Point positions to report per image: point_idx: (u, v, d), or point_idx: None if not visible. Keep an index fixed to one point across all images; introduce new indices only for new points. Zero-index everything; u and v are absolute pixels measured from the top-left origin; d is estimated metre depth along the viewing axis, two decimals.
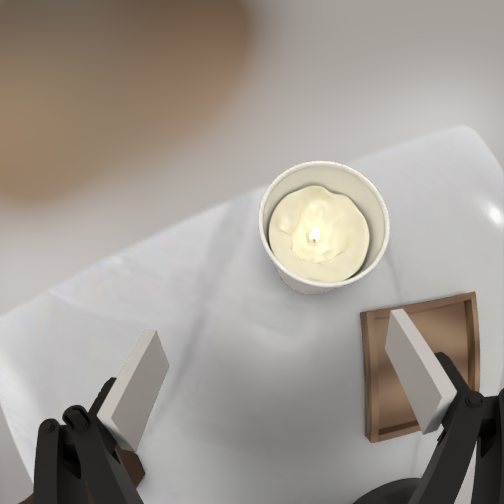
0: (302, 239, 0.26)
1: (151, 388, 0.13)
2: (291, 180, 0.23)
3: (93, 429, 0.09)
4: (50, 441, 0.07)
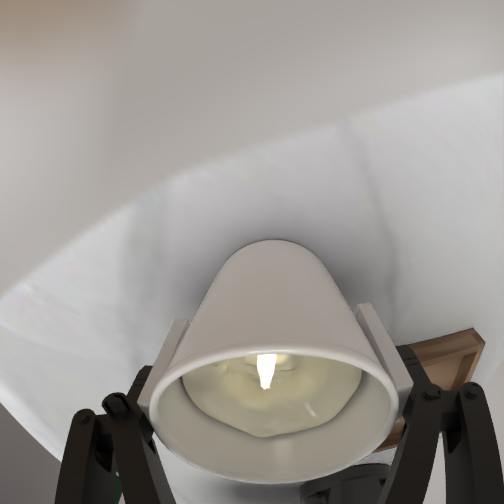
0: None
1: None
2: None
3: (133, 418, 0.09)
4: (83, 432, 0.08)
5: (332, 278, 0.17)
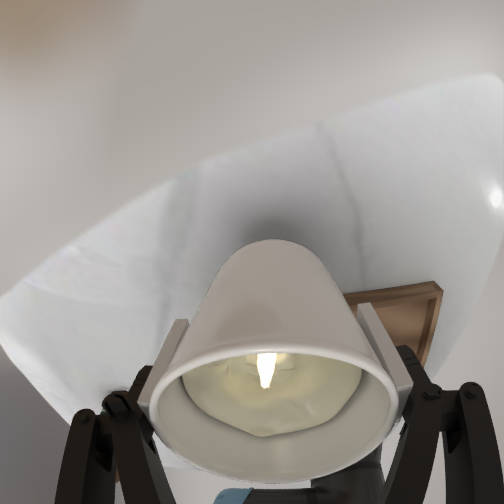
0: None
1: None
2: None
3: (133, 418, 0.09)
4: (84, 432, 0.08)
5: (332, 278, 0.17)
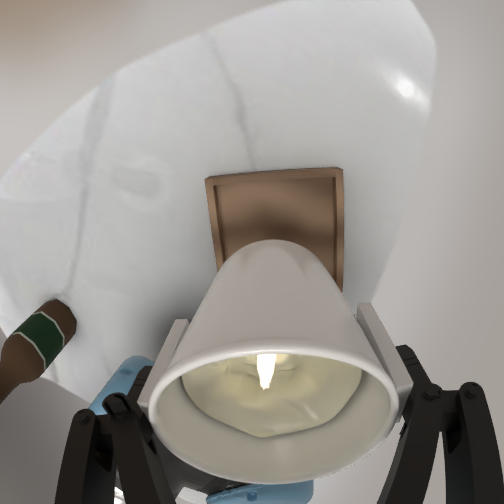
0: None
1: None
2: None
3: (133, 418, 0.09)
4: (83, 432, 0.08)
5: (332, 278, 0.16)
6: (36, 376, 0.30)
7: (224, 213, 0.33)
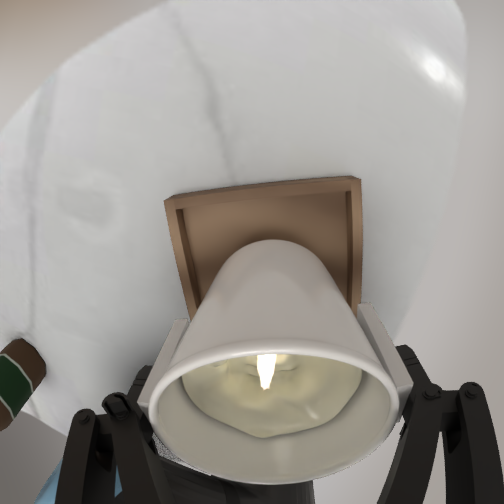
0: None
1: None
2: None
3: (133, 418, 0.09)
4: (83, 432, 0.08)
5: (332, 278, 0.16)
6: (4, 426, 0.21)
7: (195, 245, 0.24)
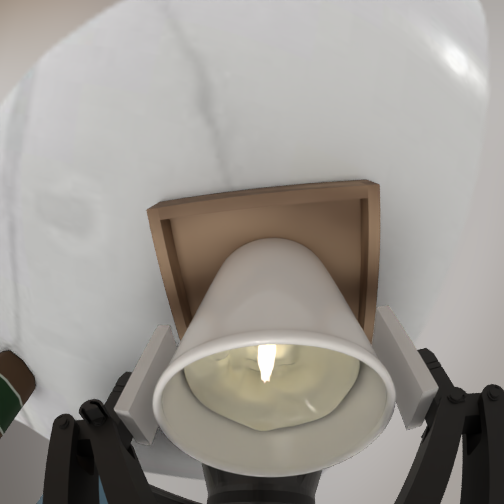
0: (246, 348, 0.15)
1: None
2: None
3: (110, 424, 0.09)
4: (64, 437, 0.08)
5: (330, 275, 0.17)
6: None
7: (185, 260, 0.20)
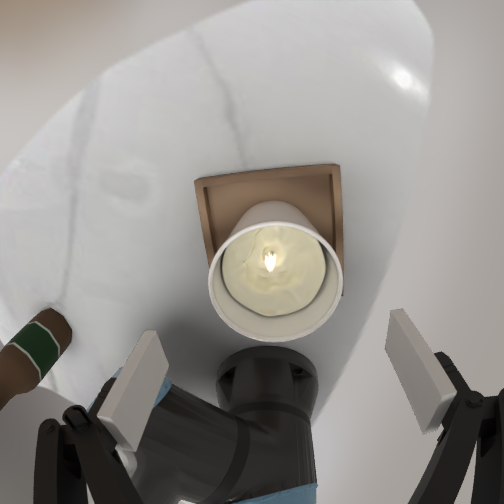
0: (258, 259, 0.26)
1: (151, 388, 0.13)
2: None
3: (93, 429, 0.09)
4: (50, 441, 0.07)
5: None
6: (32, 387, 0.29)
7: (216, 216, 0.31)
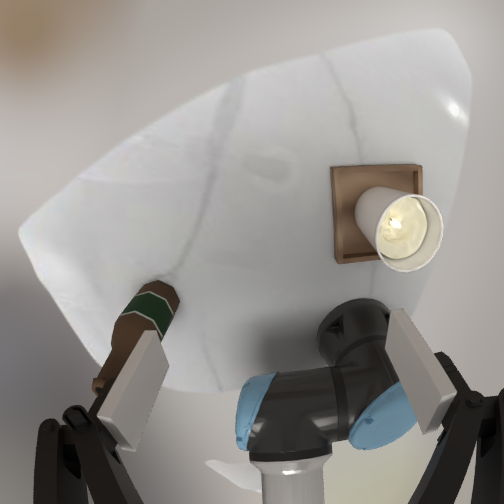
0: (385, 222, 0.36)
1: (151, 388, 0.13)
2: None
3: (93, 429, 0.09)
4: (50, 441, 0.07)
5: None
6: None
7: (342, 195, 0.41)
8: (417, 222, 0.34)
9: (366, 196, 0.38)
